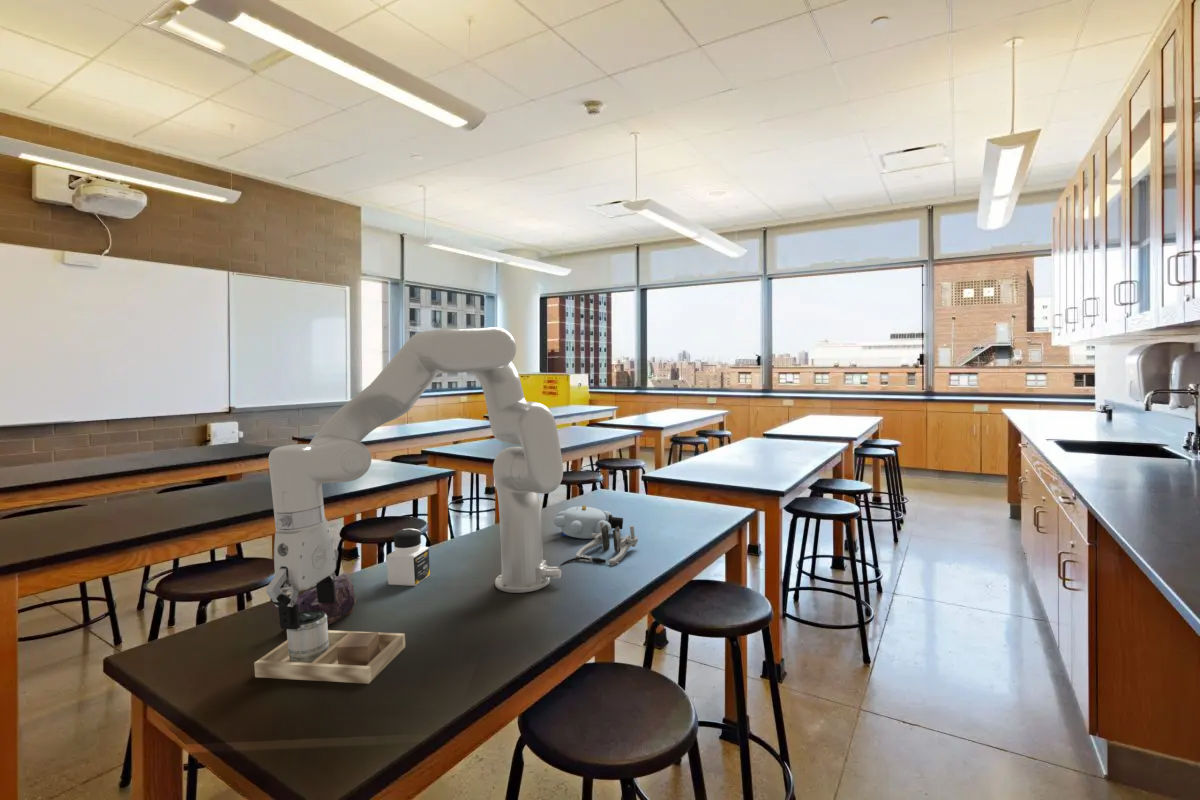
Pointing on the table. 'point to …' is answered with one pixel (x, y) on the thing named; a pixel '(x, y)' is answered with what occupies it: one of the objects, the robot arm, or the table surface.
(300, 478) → the robot arm
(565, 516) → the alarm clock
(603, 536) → the bike brake
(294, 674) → the caddy
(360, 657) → the walnut block
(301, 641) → the camera lens
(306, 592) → the rock
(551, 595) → the table surface
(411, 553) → the medicine bottle
